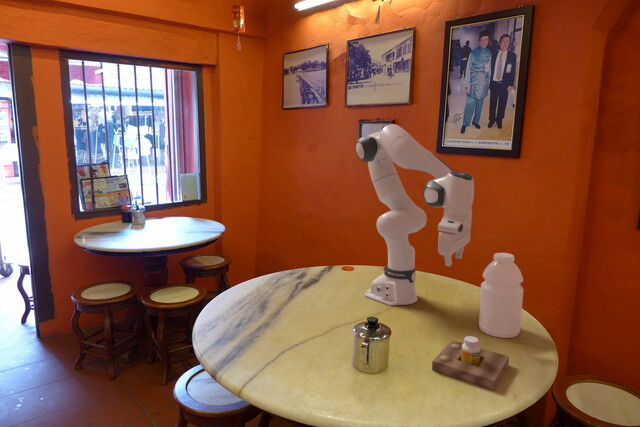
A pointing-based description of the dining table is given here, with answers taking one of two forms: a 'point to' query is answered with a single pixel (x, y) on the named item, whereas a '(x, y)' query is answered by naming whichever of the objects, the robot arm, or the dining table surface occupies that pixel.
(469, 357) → the supplement bottle
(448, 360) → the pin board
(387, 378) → the dining table surface
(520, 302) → the bottle
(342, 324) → the dining table surface
